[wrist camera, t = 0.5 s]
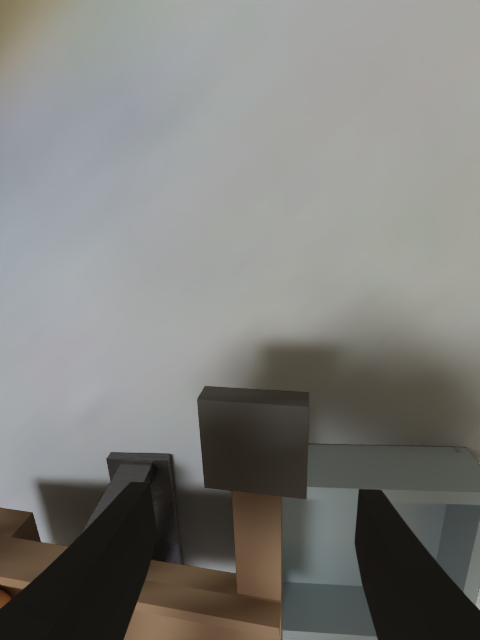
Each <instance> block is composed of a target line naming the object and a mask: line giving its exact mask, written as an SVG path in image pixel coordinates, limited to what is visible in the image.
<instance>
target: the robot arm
mask: <svg viewBox="0 0 480 640" xmlns="http://www.w3.org/2000/svg"><path fill="white" fill-rule="evenodd" d="M156 538H157V527H156V521H155V514H154V507H153V500H152V493H151V486H150V482H130V483H129V484H128V485H127V486H126V487H125V488H124V489H123V490H122V491H121V492H120V493H119V494H118V495H117V496H116V498H115V499H114V500H113V501H112V502H111V503H110V504H109V505H108V506H107V507H106V508H105V509H104V511H103V512H102V513H101V514H100V515H99V516H98V517H97V518H96V519H95V520H94V521H93V522H92V523H91V524H90V525H89V526H88V527H87V528H86V529H85V530H84V531H83V533H82V534H81V535H80V536H79V537H78V538H77V539H76V540H75V541H74V542H73V543H72V544H71V545H70V546H69V547H68V548H67V549H66V550H65V551H64V552H63V553H62V554H60V555H59V556H58V557H57V558H56V559H55V560H54V561H53V562H52V563H51V564H50V565H49V566H48V567H47V568H46V569H45V570H44V571H43V572H42V573H41V574H39V575H38V576H37V577H36V578H35V579H34V580H33V581H32V582H31V583H29V584H28V585H27V586H26V587H25V588H24V589H23V590H22V591H20V592H19V593H18V594H17V595H16V596H15V597H13V598H12V599H11V600H10V601H9V602H7V603H6V604H5V605H4V606H3V607H2V608H0V640H124V637H125V634H126V632H127V629H128V626H129V623H130V621H131V618H132V615H133V612H134V610H135V607H136V604H137V601H138V599H139V596H140V593H141V590H142V587H143V585H144V582H145V579H146V576H147V573H148V570H149V566H150V562H151V558H152V555H153V550H154V546H155V542H156ZM354 544H355V549H356V555H357V560H358V566H359V571H360V576H361V582H362V586H363V589H364V593H365V597H366V600H367V604H368V607H369V611H370V614H371V618H372V621H373V625H374V628H375V632H376V635H377V638H378V640H480V610H479V609H478V608H477V607H476V606H475V605H474V603H473V602H472V601H471V600H470V599H469V598H468V597H467V596H466V595H465V593H464V592H463V591H462V590H461V589H460V588H459V587H458V586H457V585H456V583H455V582H454V581H453V580H452V579H451V578H450V576H449V575H448V574H447V573H446V572H445V571H444V569H443V568H442V567H441V566H440V565H439V564H438V562H437V561H436V560H435V559H434V557H433V556H432V555H431V554H430V553H429V551H428V550H427V549H426V548H425V546H424V545H423V544H422V543H421V542H420V540H419V539H418V538H417V536H416V535H415V534H414V533H413V531H412V530H411V529H410V527H409V526H408V525H407V523H406V522H405V521H404V520H403V518H402V517H401V516H400V514H399V513H398V511H397V510H396V509H395V507H394V506H393V505H392V503H391V502H390V501H389V499H388V498H387V496H386V495H385V494H384V492H383V491H382V490H376V489H359V493H358V505H357V517H356V529H355V541H354Z"/></svg>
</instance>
